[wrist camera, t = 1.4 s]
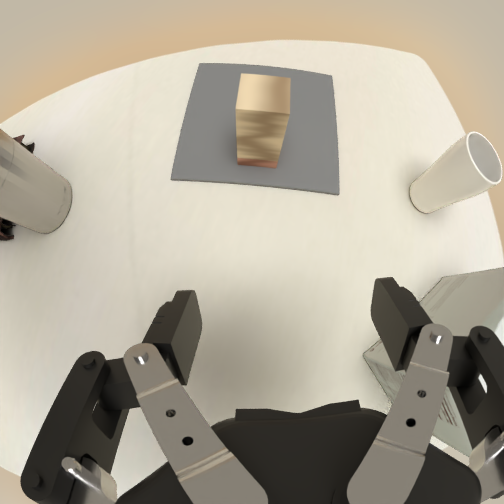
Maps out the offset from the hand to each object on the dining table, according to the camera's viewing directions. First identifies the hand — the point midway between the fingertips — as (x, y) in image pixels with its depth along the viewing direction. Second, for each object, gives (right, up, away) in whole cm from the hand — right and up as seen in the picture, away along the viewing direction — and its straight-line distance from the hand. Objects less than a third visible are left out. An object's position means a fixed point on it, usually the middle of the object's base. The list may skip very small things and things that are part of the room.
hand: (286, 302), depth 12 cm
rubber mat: (0, +21, +25) cm, 33 cm away
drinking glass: (+24, +10, +24) cm, 36 cm away
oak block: (-1, +16, +24) cm, 28 cm away
